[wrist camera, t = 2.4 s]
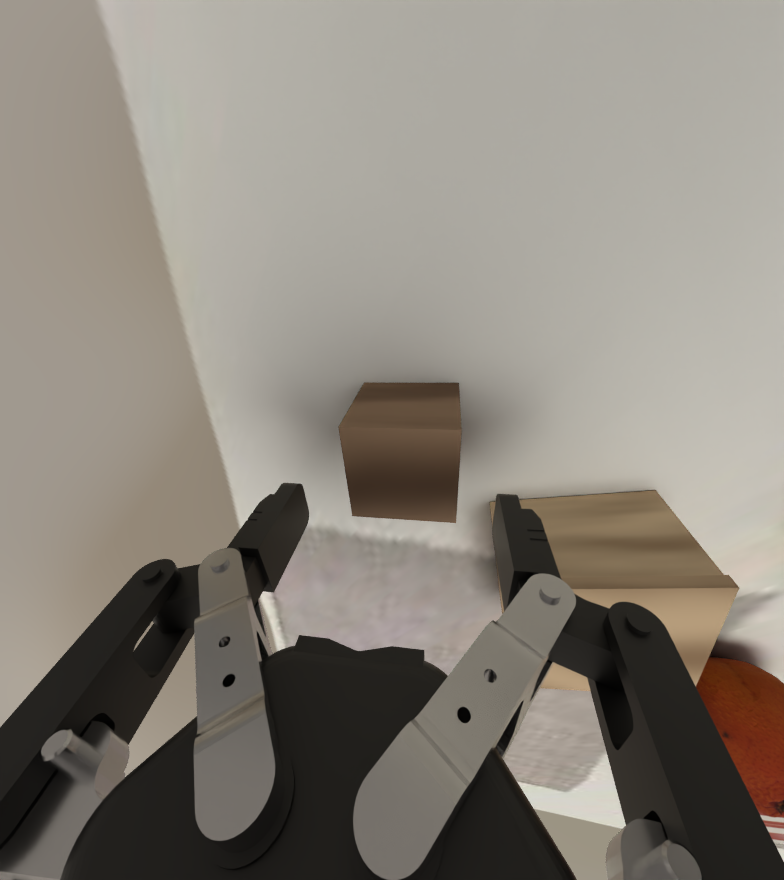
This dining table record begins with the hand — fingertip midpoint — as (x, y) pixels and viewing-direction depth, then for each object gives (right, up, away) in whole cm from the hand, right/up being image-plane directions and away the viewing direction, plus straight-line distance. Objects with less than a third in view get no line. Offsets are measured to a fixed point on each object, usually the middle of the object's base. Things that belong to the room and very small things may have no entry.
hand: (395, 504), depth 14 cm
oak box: (+11, -4, +8) cm, 15 cm away
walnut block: (+1, +4, +5) cm, 6 cm away
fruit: (+24, -15, +13) cm, 31 cm away
